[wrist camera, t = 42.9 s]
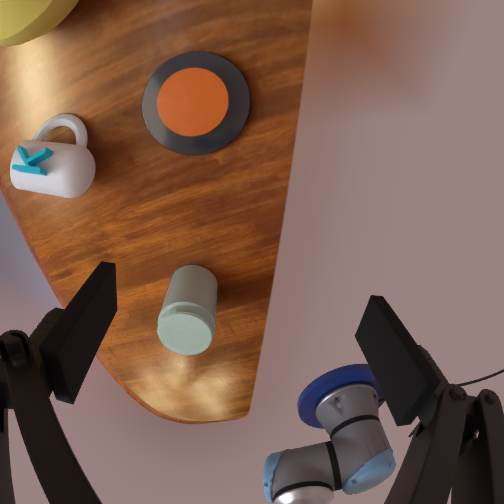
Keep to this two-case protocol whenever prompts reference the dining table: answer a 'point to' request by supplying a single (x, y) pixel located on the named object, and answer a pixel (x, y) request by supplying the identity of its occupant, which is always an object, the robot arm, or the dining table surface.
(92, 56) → the dining table surface
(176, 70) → the mat
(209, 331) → the jar
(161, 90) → the lid
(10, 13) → the vase
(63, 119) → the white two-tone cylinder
